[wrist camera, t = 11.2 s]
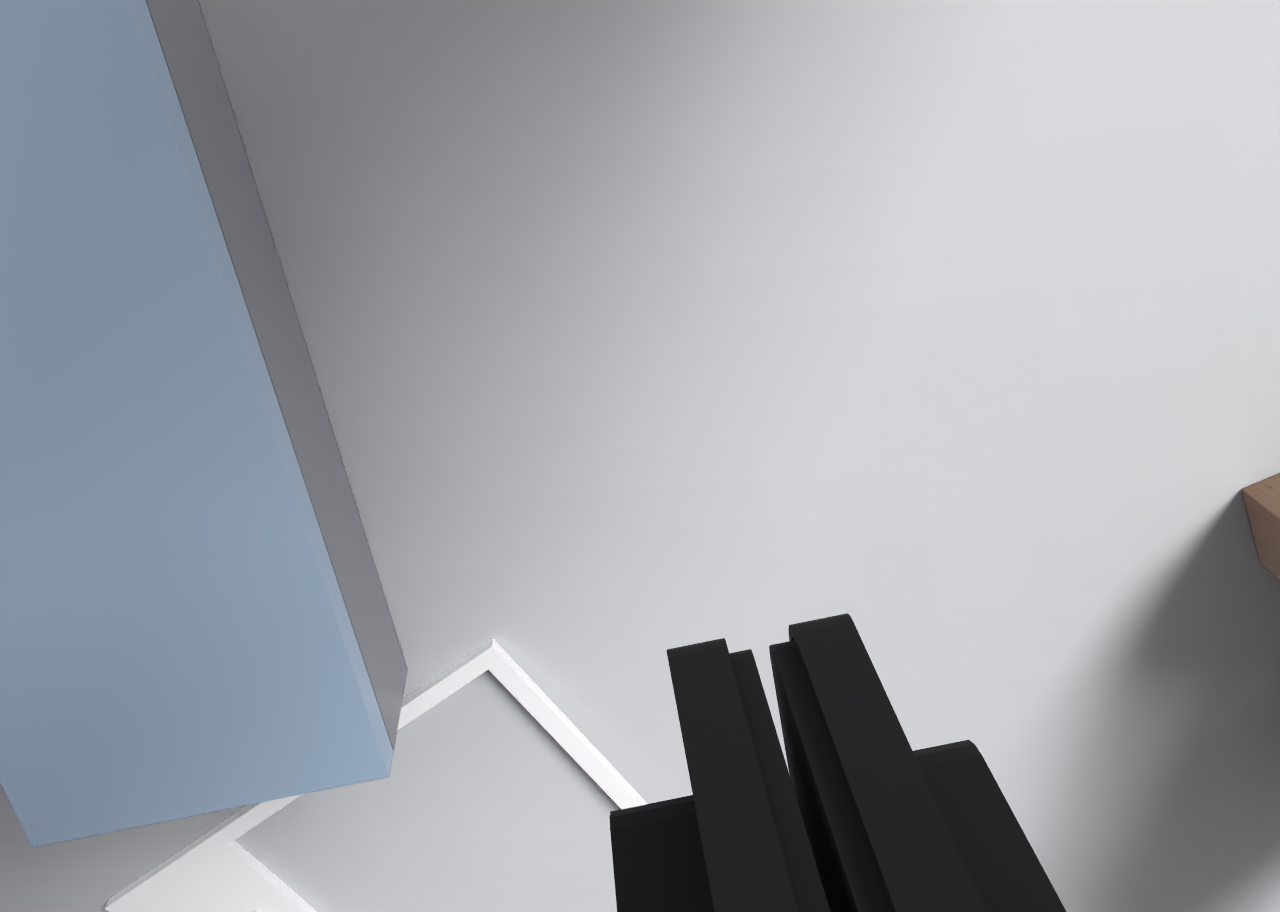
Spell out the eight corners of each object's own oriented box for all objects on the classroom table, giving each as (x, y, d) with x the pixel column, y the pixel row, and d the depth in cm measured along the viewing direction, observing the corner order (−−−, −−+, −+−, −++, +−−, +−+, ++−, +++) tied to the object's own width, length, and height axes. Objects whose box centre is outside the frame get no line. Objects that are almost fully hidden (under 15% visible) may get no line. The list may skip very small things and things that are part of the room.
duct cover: (-404, -69, 28) (-477, -69, 26) (102, -171, 28) (68, -179, 26) (29, 805, 39) (1, 853, 37) (397, 732, 39) (389, 777, 37)
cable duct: (-271, -77, 31) (-392, -77, 27) (147, -161, 31) (89, -174, 27) (95, 731, 42) (47, 819, 38) (407, 669, 42) (393, 750, 38)
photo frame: (102, 912, 44) (492, 649, 41) (112, 890, 45) (493, 631, 42) (369, 1121, 50) (731, 903, 46) (372, 1097, 51) (726, 882, 48)
